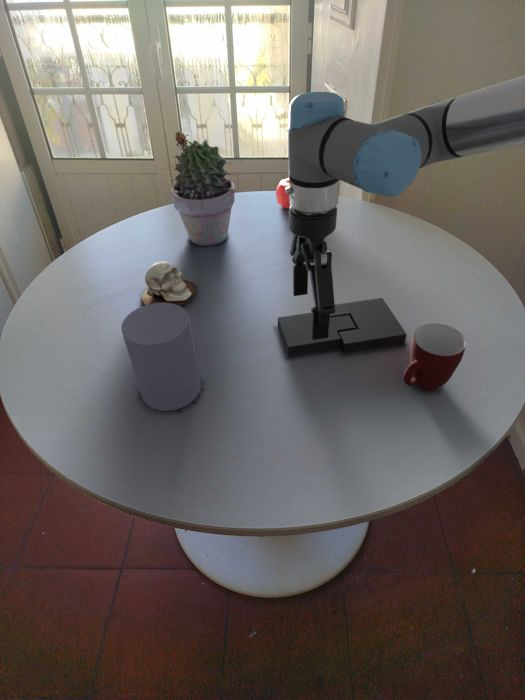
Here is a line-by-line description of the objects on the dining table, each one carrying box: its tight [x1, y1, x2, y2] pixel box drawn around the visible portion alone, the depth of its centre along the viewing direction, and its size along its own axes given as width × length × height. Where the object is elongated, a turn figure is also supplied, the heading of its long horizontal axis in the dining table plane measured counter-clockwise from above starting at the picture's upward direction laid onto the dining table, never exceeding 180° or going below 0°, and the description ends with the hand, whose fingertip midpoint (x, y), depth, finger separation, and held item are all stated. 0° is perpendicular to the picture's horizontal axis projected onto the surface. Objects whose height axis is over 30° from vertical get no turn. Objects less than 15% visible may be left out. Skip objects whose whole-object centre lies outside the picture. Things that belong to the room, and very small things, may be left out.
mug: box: [402, 323, 467, 392], centre depth 77 cm, size 10×8×10 cm
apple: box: [275, 178, 290, 209], centre depth 132 cm, size 8×8×8 cm
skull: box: [141, 261, 198, 307], centre depth 102 cm, size 12×10×10 cm
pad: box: [277, 312, 356, 358], centre depth 90 cm, size 9×14×2 cm, turn 101°
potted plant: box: [159, 130, 240, 247], centre depth 114 cm, size 18×20×25 cm
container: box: [121, 303, 202, 412], centre depth 77 cm, size 10×10×15 cm
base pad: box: [329, 297, 407, 355], centre depth 91 cm, size 12×12×2 cm
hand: (309, 314), depth 87 cm, fingers open, 13 cm apart
